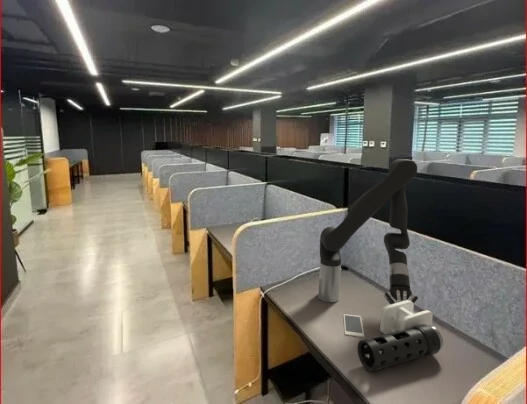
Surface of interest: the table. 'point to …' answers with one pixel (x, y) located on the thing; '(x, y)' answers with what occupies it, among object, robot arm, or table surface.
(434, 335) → the muzzle brake
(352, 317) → the phone
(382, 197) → the robot arm
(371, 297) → the table surface
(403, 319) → the white toothbrush holder
